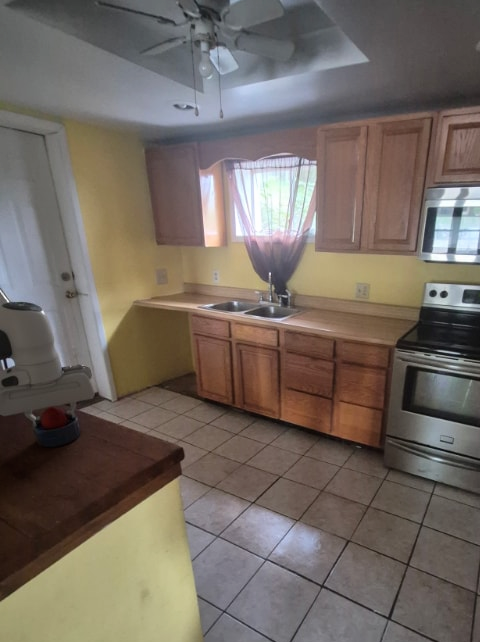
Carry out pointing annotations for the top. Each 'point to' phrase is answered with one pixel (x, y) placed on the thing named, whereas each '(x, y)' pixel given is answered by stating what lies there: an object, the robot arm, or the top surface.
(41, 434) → the bowl
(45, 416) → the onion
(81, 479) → the top surface
